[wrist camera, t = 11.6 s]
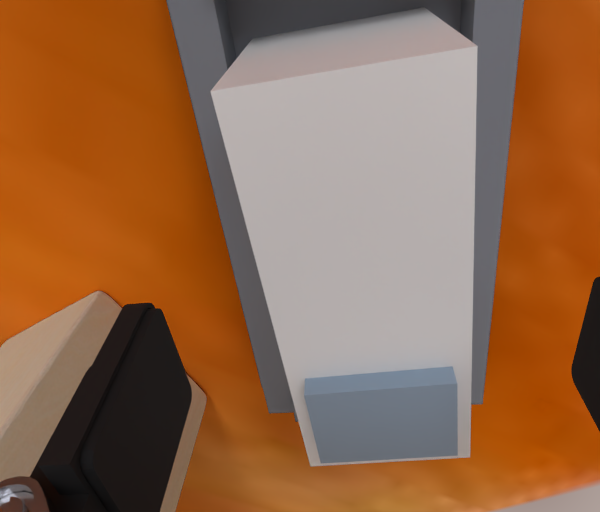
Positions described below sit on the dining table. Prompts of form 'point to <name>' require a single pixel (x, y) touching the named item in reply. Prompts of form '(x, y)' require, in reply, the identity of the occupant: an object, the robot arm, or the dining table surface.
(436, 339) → the white box
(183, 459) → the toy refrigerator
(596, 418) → the robot arm
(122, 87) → the dining table surface
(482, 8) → the tray
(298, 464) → the dining table surface
